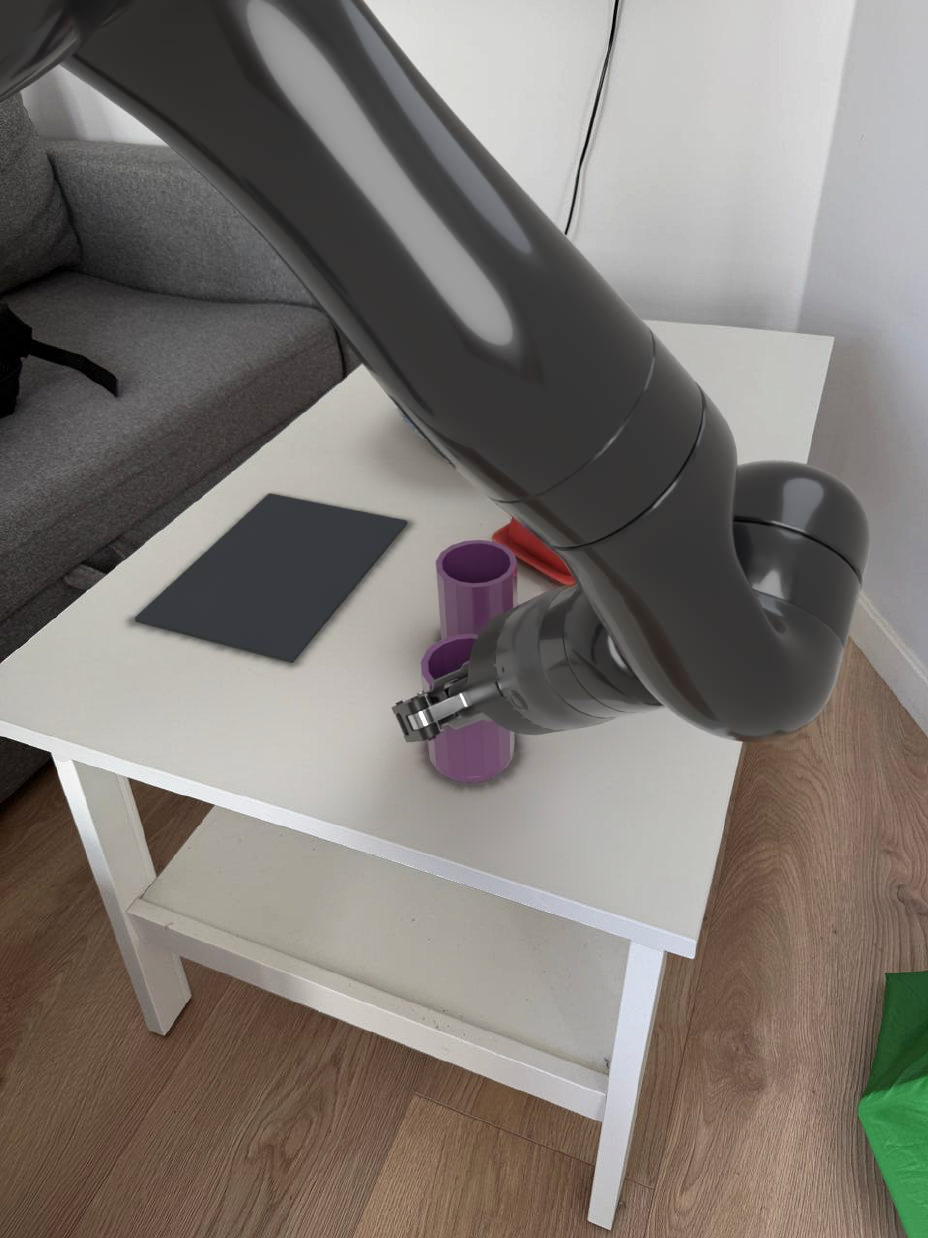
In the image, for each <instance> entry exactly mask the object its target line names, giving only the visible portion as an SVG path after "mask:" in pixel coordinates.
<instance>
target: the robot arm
mask: <svg viewBox="0 0 928 1238" xmlns="http://www.w3.org/2000/svg"><path fill="white" fill-rule="evenodd" d="M57 66H61V68H63V69H65V70H66V71H68V72H69V73H71V75H73V76H75V77H76V78H78V79H79V80H80V81H82V82H84V83H85V84H87V85H88V86H89V87H91V88H92V89H94V90H95V91H96V92H97V93H99V94H101V95H102V96H103V97H105V98H106V99H108V100H109V101H110V102H112V103H113V104H115V106H117V107H118V108H120V109H121V110H122V111H125V112H126V113H127V114H128V115H130V116H131V117H132V118H134V119H135V120H136V121H138V122H139V123H140V124H142V125H143V126H144V127H146V128H147V129H148V130H149V131H150V132H152V133H153V134H154V135H155V136H157V137H158V138H159V139H161V141H162V142H164V143H165V145H167V146H168V147H169V148H171V149H172V150H173V151H174V152H175V153H177V155H178V156H180V157H181V158H182V159H183V160H184V161H185V162H187V163H188V164H189V165H190V166H191V167H192V168H193V169H194V170H195V171H196V172H197V173H198V174H199V175H201V176H202V177H203V178H204V179H205V180H206V181H207V182H208V183H209V184H210V185H211V186H212V187H213V188H214V189H215V190H216V191H217V192H218V193H219V194H220V195H221V196H222V197H223V198H224V199H225V200H226V201H227V202H228V203H229V204H230V205H231V206H232V207H233V208H234V209H235V210H236V211H237V212H238V213H239V214H240V216H242V217H243V218H244V220H245V221H246V222H247V223H248V224H249V225H250V226H251V227H252V228H253V229H254V230H255V232H257V233H258V234H259V235H260V236H261V237H262V239H263V240H265V242H266V243H267V244H268V245H269V246H270V247H271V248H272V250H273V251H274V252H275V254H276V255H277V256H278V257H279V258H280V260H281V261H282V262H283V263H284V265H286V267H287V268H288V270H290V272H291V273H292V275H294V277H295V278H296V279H297V281H298V282H299V283H300V284H301V285H302V287H303V288H304V289H305V290H306V292H307V293H308V295H309V296H310V297H311V298H312V300H314V303H316V305H317V306H318V307H319V309H320V310H321V311H322V313H323V315H325V317H326V318H327V319H328V321H329V322H330V323H331V325H332V326H333V327H334V329H335V330H336V331H337V332H338V334H339V335H340V336H341V338H342V339H343V340H344V342H345V343H346V344H347V346H348V347H349V349H350V350H351V351H352V352H353V353H354V355H355V356H356V357H357V360H359V361H360V362H361V365H363V367H364V368H365V369H366V371H367V373H369V375H370V376H371V377H372V378H373V380H374V381H375V382H376V383H377V385H378V386H379V387H380V388H381V389H382V391H383V392H384V393H385V394H386V396H388V398H389V399H390V400H391V401H392V403H393V404H394V406H395V405H396V406H397V407H398V408H399V409H400V411H401V412H402V413H403V414H404V416H405V417H406V418H407V419H408V420H409V421H410V422H411V424H412V425H413V426H414V427H415V428H416V429H417V430H418V432H419V433H420V434H421V435H422V436H423V437H424V438H425V439H426V442H427V443H429V445H430V446H431V447H432V448H433V449H434V451H436V452H437V453H438V454H439V455H440V456H441V457H442V458H443V459H444V460H445V461H446V462H447V463H448V464H449V465H450V466H451V467H453V468H454V469H455V470H456V471H457V472H458V473H459V474H460V475H461V476H462V477H463V478H464V479H466V480H467V481H468V482H469V483H470V484H472V485H473V486H474V487H475V488H476V489H477V490H479V491H480V492H481V493H482V494H483V495H485V496H486V497H487V498H488V499H489V500H491V501H492V502H493V503H494V504H496V505H497V506H498V507H499V508H500V509H501V510H503V511H504V512H505V513H506V514H507V515H509V516H510V517H511V519H512V518H514V519H515V520H516V521H517V522H518V523H520V524H521V525H522V526H523V527H524V528H526V529H527V530H528V531H529V532H530V533H532V534H533V535H534V536H535V537H536V538H538V539H539V540H540V541H541V542H542V543H543V544H544V545H546V546H547V547H548V548H549V549H551V550H552V551H553V552H554V553H556V554H557V555H558V556H559V557H560V558H561V559H562V560H563V562H564V563H565V565H566V566H567V568H568V569H569V571H570V573H571V575H572V576H573V578H574V580H575V582H576V583H574V584H569V585H565V584H563V585H561V586H557V587H554V588H552V589H549V590H547V591H544V592H542V593H540V594H538V595H537V596H534V597H532V598H530V599H528V600H526V601H524V602H522V603H519V604H517V606H516V607H514V608H512V609H510V610H508V611H506V612H504V613H502V614H500V615H498V616H496V617H495V618H494V619H492V620H491V621H490V622H489V623H488V624H487V625H486V626H485V627H484V628H483V629H482V631H481V632H480V633H479V635H478V637H477V639H476V641H475V643H474V645H473V648H472V652H471V657H470V661H467V662H465V663H464V664H463V665H462V667H461V668H460V669H458V670H456V671H453V672H451V673H449V674H446V675H444V676H442V677H440V678H438V679H436V680H434V682H433V688H432V689H431V690H428V691H426V692H424V690H423V689H422V690H421V691H418V692H416V695H415V696H413V697H410V698H409V699H405V701H404V700H399V701H397V702H395V705H394V706H392V707H391V710H392V712H393V715H394V716H395V717H396V720H397V722H398V724H399V727H400V729H401V731H402V733H403V737H404V740H405V742H406V743H415V742H424V741H428V740H429V741H430V740H433V739H435V738H437V737H436V735H438V734H440V733H441V731H443V727H442V726H444V725H450V726H451V727H452V728H453V729H459V728H461V727H464V726H467V725H470V724H472V723H475V722H478V721H480V720H486V721H492V720H493V721H494V722H496V723H497V724H499V725H500V726H502V727H503V728H505V729H507V730H510V731H512V732H514V734H518V735H525V736H540V735H548V734H552V733H559V732H566V731H571V730H577V729H578V730H579V729H584V728H589V727H595V726H599V725H602V724H605V723H607V722H610V721H613V720H614V719H616V718H618V717H619V718H620V717H624V716H630V715H635V714H643V713H649V712H655V711H658V710H662V709H667V710H669V711H670V712H671V713H672V714H674V715H675V716H677V717H678V718H679V719H681V720H682V721H684V722H685V723H687V724H689V725H691V726H692V727H694V728H695V729H698V730H701V731H703V732H705V733H707V734H709V735H712V736H715V737H718V738H721V739H724V740H729V741H734V742H735V741H736V742H743V743H752V744H754V743H765V742H766V743H767V742H772V741H779V740H782V739H785V738H787V737H790V736H792V735H795V734H797V733H799V732H801V731H802V730H804V729H805V728H807V727H808V726H809V725H810V724H812V723H813V722H814V721H816V719H817V718H819V716H820V715H821V714H822V713H823V711H824V710H825V708H826V707H827V705H828V703H829V701H830V699H831V697H832V695H833V692H834V690H835V688H836V685H837V681H838V677H839V674H840V670H841V665H842V662H843V658H844V654H845V651H846V647H847V643H848V639H849V636H850V632H851V628H852V624H853V620H854V618H855V613H856V610H857V606H858V602H859V599H860V594H861V590H862V588H863V584H864V580H865V577H866V573H867V569H868V565H869V561H870V557H871V550H872V549H871V548H872V529H871V524H870V520H869V515H868V512H867V510H866V507H865V506H864V504H863V503H862V501H861V500H860V498H859V496H858V495H857V493H856V492H855V491H854V490H853V489H852V488H851V487H850V486H849V485H848V484H847V483H845V482H844V481H843V480H842V479H841V478H840V477H837V476H836V475H834V474H832V473H831V472H829V471H827V470H825V469H823V468H820V467H817V466H815V465H811V464H808V463H803V462H798V461H793V460H783V459H782V460H781V459H767V460H766V459H765V460H756V461H751V462H746V463H741V464H738V450H737V445H736V440H735V437H734V435H733V432H732V430H731V427H730V426H729V424H728V422H727V420H726V418H725V417H724V415H723V413H722V412H721V411H720V409H719V408H718V407H717V405H716V403H714V402H713V400H712V399H711V398H710V396H709V395H708V394H707V393H706V392H705V390H704V389H703V387H701V385H699V383H698V382H697V381H696V380H695V379H694V377H693V376H692V375H691V374H690V373H689V372H688V371H687V369H686V368H685V367H684V366H683V365H682V364H681V362H679V360H678V359H677V358H676V357H675V356H674V355H673V353H672V352H671V351H670V350H669V349H668V347H667V346H666V345H665V344H664V343H663V341H661V339H660V338H659V337H658V336H657V335H656V333H655V332H654V331H653V330H652V328H650V326H649V325H647V323H646V322H645V321H644V320H643V318H642V317H640V316H639V314H638V313H637V312H636V311H635V310H634V309H633V307H632V306H631V305H630V304H629V303H628V302H627V301H626V300H625V298H624V297H622V295H621V294H620V293H619V292H618V290H616V288H614V286H612V284H611V283H610V282H609V280H607V278H606V277H604V275H603V274H602V273H601V272H600V271H599V270H598V269H597V267H595V265H594V264H593V263H592V262H591V261H590V260H589V259H588V258H587V257H586V255H584V253H583V252H582V251H581V250H580V249H579V248H578V247H577V246H576V244H574V242H573V241H572V240H571V239H570V238H569V237H568V236H567V235H566V234H565V232H564V231H563V230H562V229H561V228H560V227H559V225H557V224H556V222H554V221H553V219H552V218H551V217H549V215H548V214H547V213H546V211H544V209H542V207H540V205H539V204H538V203H537V202H536V201H535V199H534V198H533V197H531V196H530V194H529V193H528V192H527V191H526V190H525V189H524V188H523V187H522V185H520V184H519V183H518V181H516V179H514V177H513V176H512V175H511V174H510V172H509V171H507V169H506V168H505V167H504V166H503V165H502V164H501V163H500V162H499V161H498V160H497V159H496V157H495V156H493V154H492V153H491V152H490V151H489V150H488V149H487V147H485V145H484V144H483V143H482V142H481V141H480V140H479V138H478V137H476V135H475V134H474V133H473V132H472V131H471V130H470V129H469V127H468V126H467V125H466V124H465V123H464V122H463V121H462V119H460V117H459V116H458V115H457V114H456V112H455V111H454V110H453V109H452V108H451V107H450V106H449V105H448V103H447V101H445V100H444V98H443V97H442V96H441V95H440V94H439V92H438V91H437V90H436V89H435V87H433V85H431V83H430V82H429V81H428V79H426V77H425V76H424V75H423V74H422V72H421V71H420V70H419V69H418V67H417V66H416V65H415V64H414V62H413V61H412V60H411V59H410V57H409V56H408V55H407V54H406V52H405V51H404V50H403V49H402V47H401V46H400V45H399V44H398V42H397V41H396V40H395V39H394V37H393V36H392V35H391V34H390V32H389V31H388V30H387V29H386V27H385V26H384V25H383V24H382V22H381V21H380V20H379V18H378V17H377V16H376V14H375V13H374V12H373V11H372V9H371V8H370V6H369V5H368V3H366V1H365V0H0V104H1V103H2V102H4V101H6V100H8V99H9V98H11V97H13V96H14V95H16V94H18V93H19V92H21V91H23V90H24V89H26V88H27V87H29V86H31V85H32V84H34V83H36V82H37V81H39V80H40V79H42V78H43V77H44V76H45V75H47V74H48V73H50V72H51V71H52V70H54V69H55V68H56V67H57ZM396 406H395V407H396ZM424 438H423V439H424ZM425 439H424V440H425ZM466 675H468V676H466ZM464 676H466V677H464ZM461 677H464V678H462V679H461V680H459V681H457V682H456V680H457V679H459V678H461ZM434 696H435V697H437V698H438V699H439V701H440V702H437V703H436V702H435V700H434V698H433V697H434Z"/></svg>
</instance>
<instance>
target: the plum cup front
mask: <svg viewBox="0 0 928 1238" xmlns="http://www.w3.org/2000/svg"><path fill="white" fill-rule="evenodd" d="M477 637H478V635H477V634H461V635H453V636H451V637H448V638H445V639H442V640H441V639H439V640H438V641H436V642H435V643H433V644H432V645H431V646H430V647H429V648H428V649H426V651H425V653H424V655H423V657H422V659H421V660H420V670H421V671H420V672H421V673H420V674H421V680H422V681H421V682H422V684H421V685H422V691H423V690H424V692H426V691H428V690H431V689H432V688H433V682H434V680H436V679H438V678H440V677H442V676H444V675H446V674H449V673H451V672H453V671H456V670H458V669H460V668H461V667H462V665H463V664H464V663H465V662H467V661H470V657H471V652H472V648H473V645H474V643H475V641H476V639H477ZM466 676H468V675H466ZM466 676H464V677H466ZM464 677H461V678H459V679H457V680H456V682H457V681H459V680H461V679H462V678H464ZM433 698H434V700H435V702H436V703H437V702H440V701H439V699H438V698H437V697H435V696H434V697H433ZM442 727H443V731H441V733H440V734H438V735H436V737H437V738H435V739H433V740H430V741H429V740H428V739H427V749H428V756H429V759H430V760H429V761H430V762H431V764H432V766H433V767H434V769H435V770H436V771H437V772H438V773H440V774H441V775H442V776H444V777H445V778H448V779H451V780H453V781H456V782H461V783H479V782H484V781H488V780H491V779H493V778H495V777H498V775H500V774H501V773H503V772H504V771H505V770H507V768H508V767H509V766H510V764H511V762H512V760H513V757H514V752H515V745H516V743H515V732H512V731H510V730H507V729H505V728H503V727H502V726H500V725H499V724H497V723H496V722H494V721H493V720H492V721H486V720H480V721H478V722H475V723H472V724H470V725H467V726H464V727H461V728H459V729H453V728H452V727H451V726H450V725H444V726H442Z"/></svg>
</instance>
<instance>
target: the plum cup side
mask: <svg viewBox="0 0 928 1238" xmlns="http://www.w3.org/2000/svg"><path fill="white" fill-rule="evenodd" d="M516 557H517V556H515V554H514V553H513V552H512V551H511V550H510V549H509V548H508V547H506V546H503V545H501V544H499V543H496V542H494V541H493V540H492V541H491V540H486V539H472V540H463V541H460V542H457V543H454V544H451V545H449V546H448V547H447V548H445V549H444V550H442V551H441V552H440V553H439V555H438V557H437V558H436V560H435V573H436V587H437V599H438V614H439V615H438V616H439V627H440V640H442V639H445V638H448V637H451V636H453V635H461V634H477V635H479V633H480V632H481V631H482V629H483V628H484V627H485V626H486V625H487V624H488V623H489V622H490V621H491V620H492V619H494V618H495V617H496V616H498V615H500V614H502V613H504V612H506V611H508V610H510V609H512V608H514V607H516V606H518V561H517V558H516Z"/></svg>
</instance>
